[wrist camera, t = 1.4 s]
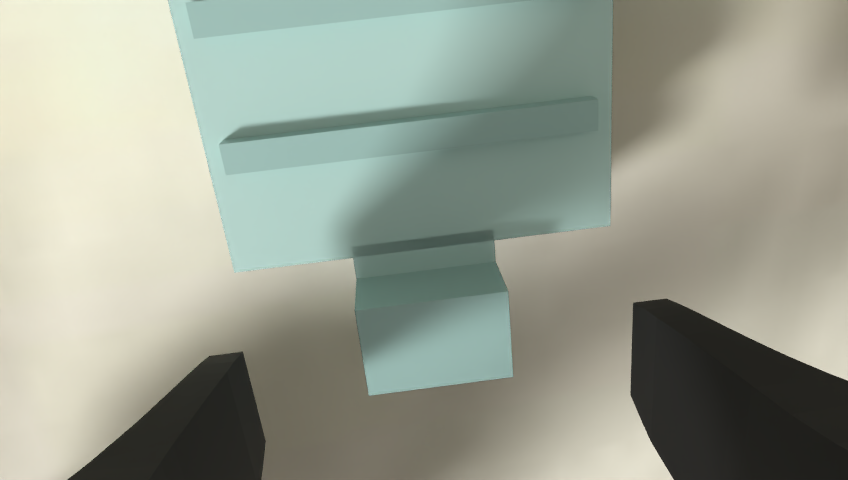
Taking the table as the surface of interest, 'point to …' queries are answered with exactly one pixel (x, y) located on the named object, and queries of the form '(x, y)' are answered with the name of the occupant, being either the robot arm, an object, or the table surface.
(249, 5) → the teal ridged block
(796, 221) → the table surface
